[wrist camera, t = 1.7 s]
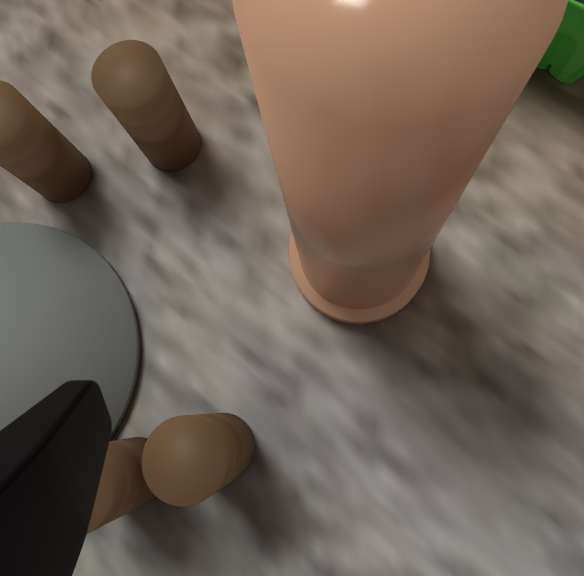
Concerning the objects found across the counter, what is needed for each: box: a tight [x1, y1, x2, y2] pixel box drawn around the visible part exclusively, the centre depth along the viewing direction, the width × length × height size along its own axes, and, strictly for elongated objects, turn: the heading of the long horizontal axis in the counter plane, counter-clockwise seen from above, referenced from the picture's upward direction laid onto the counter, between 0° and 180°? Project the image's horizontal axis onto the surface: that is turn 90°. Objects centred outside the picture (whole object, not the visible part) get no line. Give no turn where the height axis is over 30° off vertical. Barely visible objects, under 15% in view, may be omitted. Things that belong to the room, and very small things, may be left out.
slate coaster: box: [0, 223, 140, 439], centre depth 21 cm, size 11×11×1 cm
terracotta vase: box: [232, 0, 568, 324], centre depth 14 cm, size 5×5×14 cm
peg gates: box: [0, 40, 255, 534], centre depth 19 cm, size 15×8×5 cm, turn 21°
